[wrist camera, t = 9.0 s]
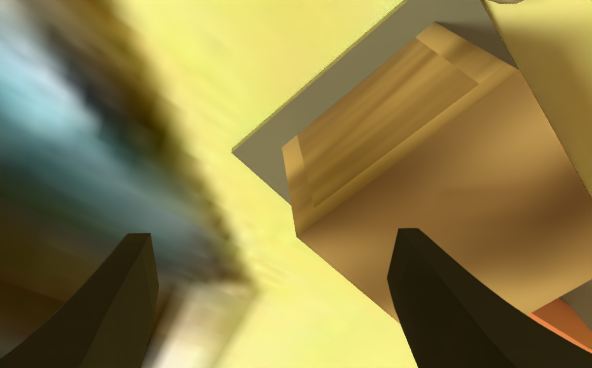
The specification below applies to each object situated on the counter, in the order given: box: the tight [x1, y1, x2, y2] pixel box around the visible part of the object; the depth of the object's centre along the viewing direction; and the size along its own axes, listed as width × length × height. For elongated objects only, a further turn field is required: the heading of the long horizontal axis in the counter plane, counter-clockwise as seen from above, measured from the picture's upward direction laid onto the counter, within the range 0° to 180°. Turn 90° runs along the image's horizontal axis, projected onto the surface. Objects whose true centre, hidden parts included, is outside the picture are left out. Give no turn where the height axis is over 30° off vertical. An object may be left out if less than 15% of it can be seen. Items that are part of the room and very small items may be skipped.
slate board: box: [232, 0, 592, 332], centre depth 27 cm, size 31×13×1 cm, turn 41°
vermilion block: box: [527, 298, 592, 353], centre depth 27 cm, size 11×4×5 cm, turn 52°
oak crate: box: [282, 22, 592, 323], centre depth 20 cm, size 11×9×7 cm
